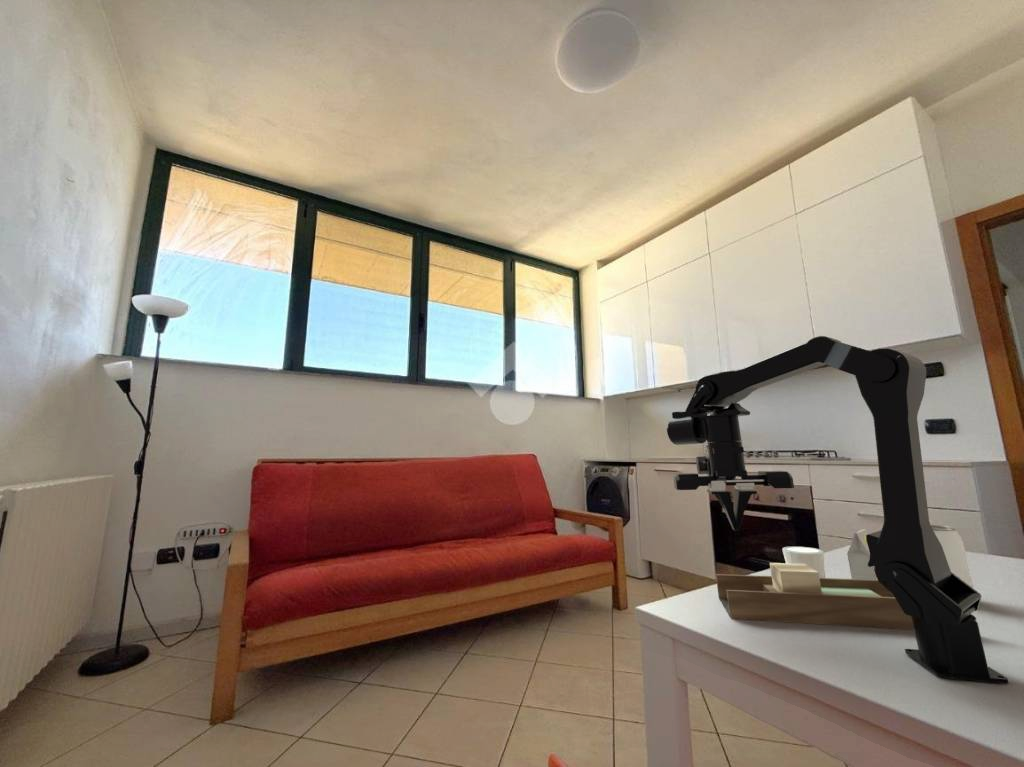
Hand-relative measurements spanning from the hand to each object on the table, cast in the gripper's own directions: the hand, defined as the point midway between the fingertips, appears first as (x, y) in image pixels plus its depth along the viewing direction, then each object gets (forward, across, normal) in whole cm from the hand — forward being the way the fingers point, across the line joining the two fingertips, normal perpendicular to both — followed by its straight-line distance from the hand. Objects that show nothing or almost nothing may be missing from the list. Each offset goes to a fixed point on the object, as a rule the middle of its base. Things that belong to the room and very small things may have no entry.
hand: (736, 530), depth 73 cm
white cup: (+13, -14, -15) cm, 25 cm away
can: (+13, -34, -11) cm, 39 cm away
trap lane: (+13, -12, 0) cm, 17 cm away
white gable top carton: (+13, -26, -19) cm, 35 cm away
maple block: (+10, -8, 0) cm, 13 cm away
